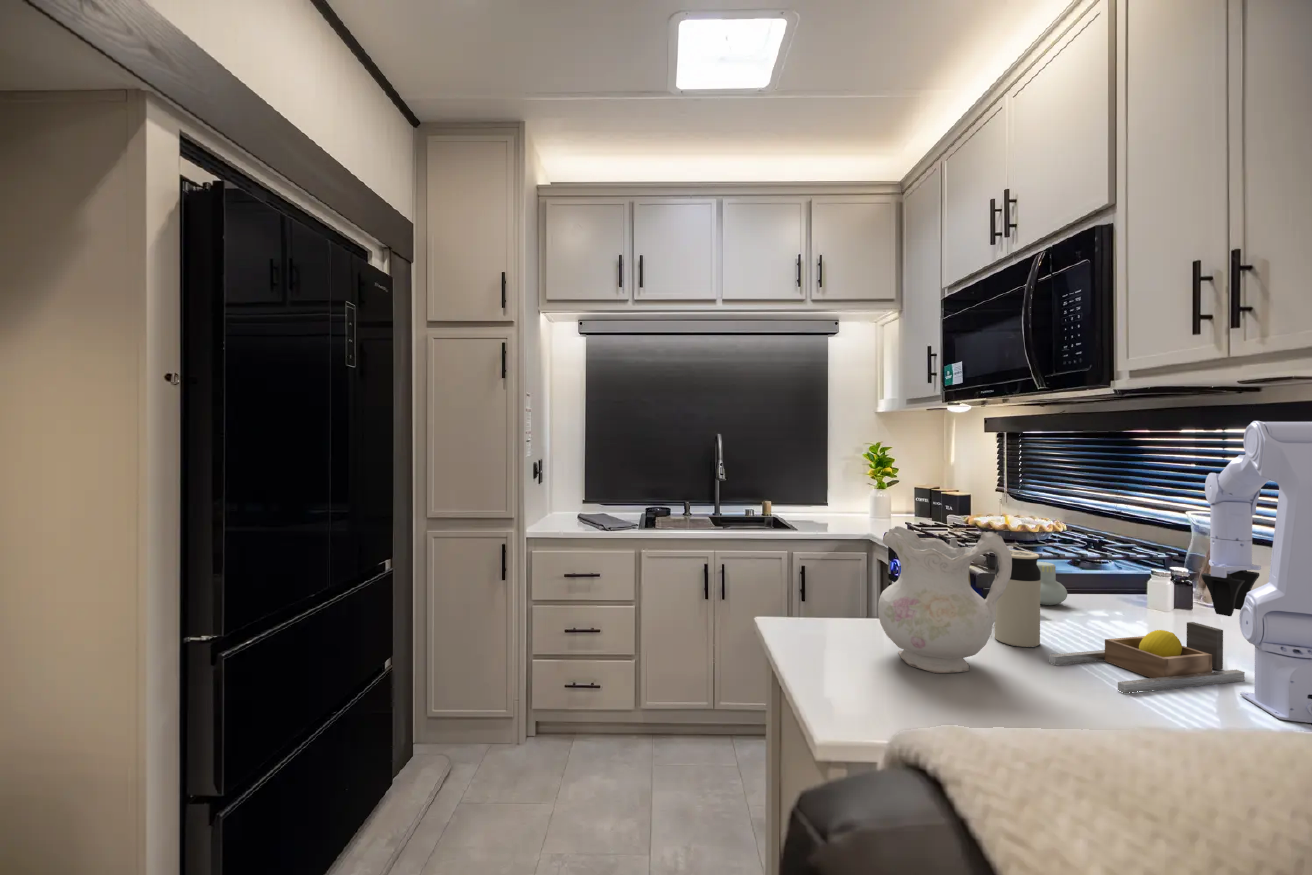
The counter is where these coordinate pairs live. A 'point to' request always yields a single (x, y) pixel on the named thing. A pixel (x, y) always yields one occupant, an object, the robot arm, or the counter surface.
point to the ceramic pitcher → (940, 600)
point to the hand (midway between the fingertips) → (1230, 611)
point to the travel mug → (1020, 603)
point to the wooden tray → (1194, 658)
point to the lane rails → (1152, 683)
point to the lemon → (1161, 643)
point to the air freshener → (1050, 585)
